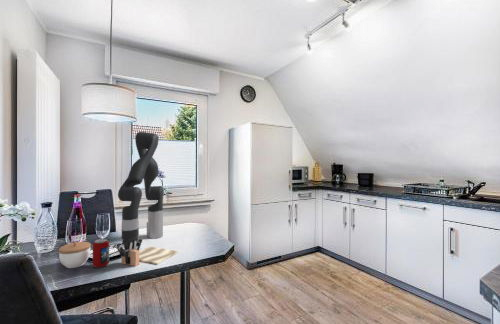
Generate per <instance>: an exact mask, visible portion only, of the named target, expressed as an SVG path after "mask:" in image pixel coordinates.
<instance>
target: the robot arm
mask: <svg viewBox="0 0 500 324" xmlns="http://www.w3.org/2000/svg"><path fill="white" fill-rule="evenodd" d="M134 140H135V142H134V143H135V146H136V150H137V153H138V156H139V158H138V159H137V160H136V161H135V162H134V163H133V164H132V165H131V168H130V169H129V173H128V176H127V178H126V179H125V181H124V182H123V183H122V185H121V186H120V188H119V189H118V192H117V198H118V199H119V200H120V201H121V202H130V204H129V205H125V206H124V207H122V209H121V239H122V242H121V245H120V246H118V247H116V249H117V251H118V252H119V254H120V256H121V258H122V257H125V263H126V264H125V265H127V264H130V252H131V249H136V250H139V251H140V249H141V245H142V242H143V239H140V238H139V236H140V233H139V232H140V226H139V225H140V223H139V222H140V221H139V208H140V205H141V204H140V203H141V201H142V197H143V192H142V189H141V187H139V185H141V184H142V183H143V182H144V183H143V184H144V195H145V199H146V200H147V201H156V203H154V204H151V205H148V207H147V222H146V237H147V238H149V239H158V238H162V237H163V235H164V225H163V224H164V188H163V186H162V185H153V186H152V184H153V182H154V181H155V180H156V179H157V177H158V176H159V165H158V162H157V161H156V159H155V158H153V157H154V154H155V152H156V150H157V148H158V145H159V136H158V134H156V133H154V132H145V131H138V132H137V133H136V134H135V139H134ZM128 249H129V250H128ZM127 252H128V254H127Z"/></svg>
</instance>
